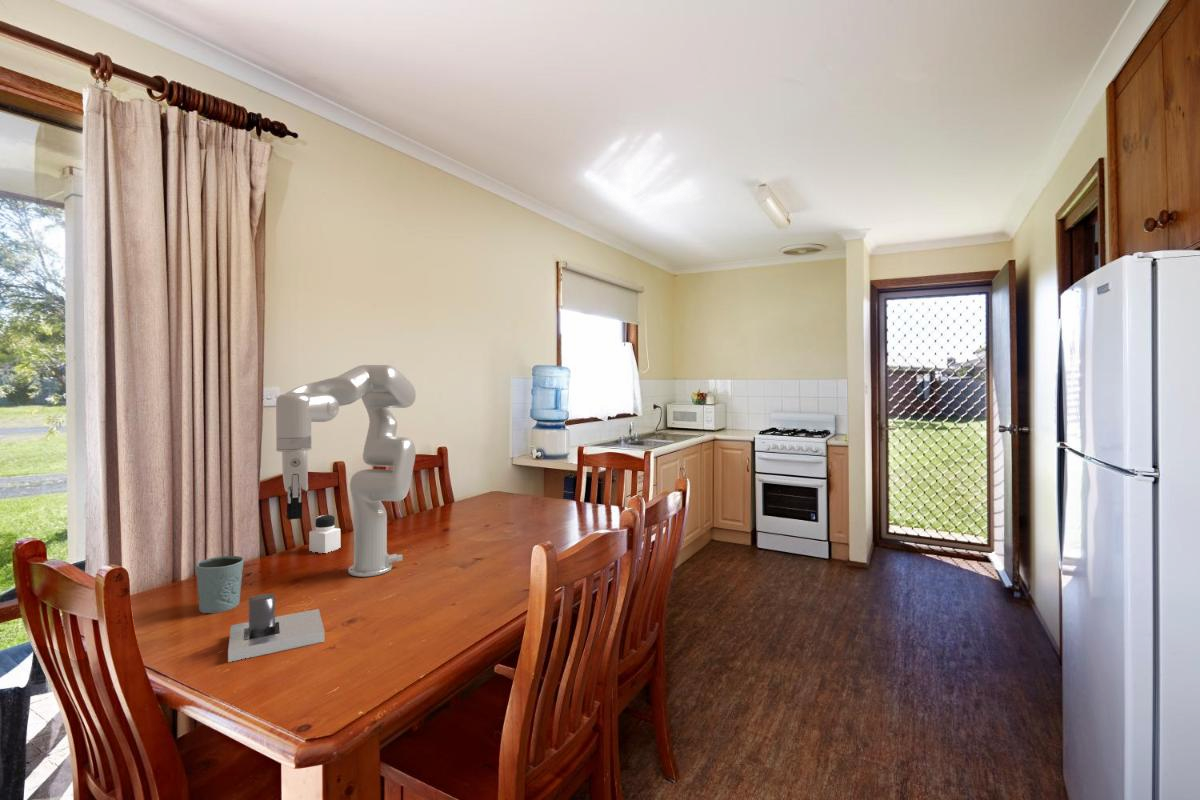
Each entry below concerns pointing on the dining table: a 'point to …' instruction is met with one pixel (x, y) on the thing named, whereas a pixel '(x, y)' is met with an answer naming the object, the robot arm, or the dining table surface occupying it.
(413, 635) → the dining table surface
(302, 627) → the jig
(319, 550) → the medicine bottle
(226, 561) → the teal embossed planter pot
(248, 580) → the dining table surface
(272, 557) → the dining table surface
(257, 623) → the dark grey peg block
